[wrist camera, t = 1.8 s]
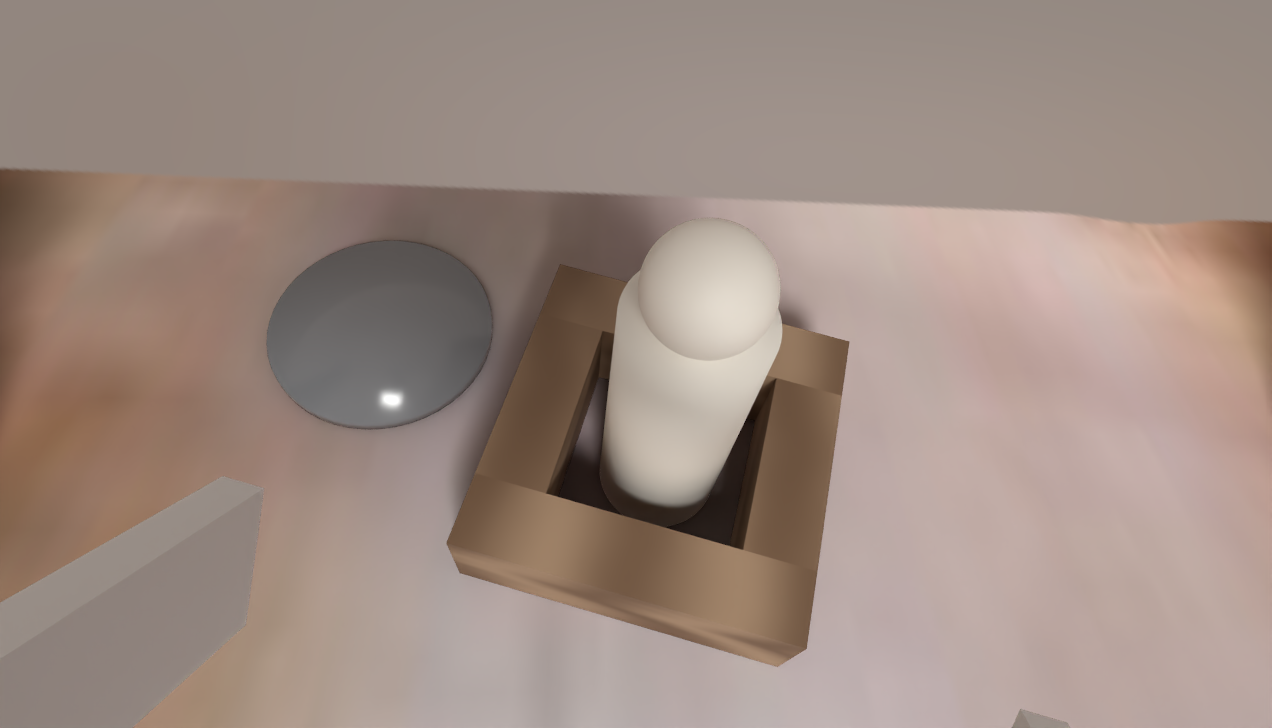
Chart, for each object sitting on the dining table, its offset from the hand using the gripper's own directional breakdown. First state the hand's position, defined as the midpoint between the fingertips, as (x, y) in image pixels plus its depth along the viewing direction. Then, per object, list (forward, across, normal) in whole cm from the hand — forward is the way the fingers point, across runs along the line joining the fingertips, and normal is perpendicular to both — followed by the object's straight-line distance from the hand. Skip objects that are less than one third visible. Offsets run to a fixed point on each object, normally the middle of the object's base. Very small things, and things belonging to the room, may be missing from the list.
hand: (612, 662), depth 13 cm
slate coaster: (+22, -14, -2) cm, 26 cm away
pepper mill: (+20, 0, -4) cm, 20 cm away
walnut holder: (+20, 0, -4) cm, 20 cm away
